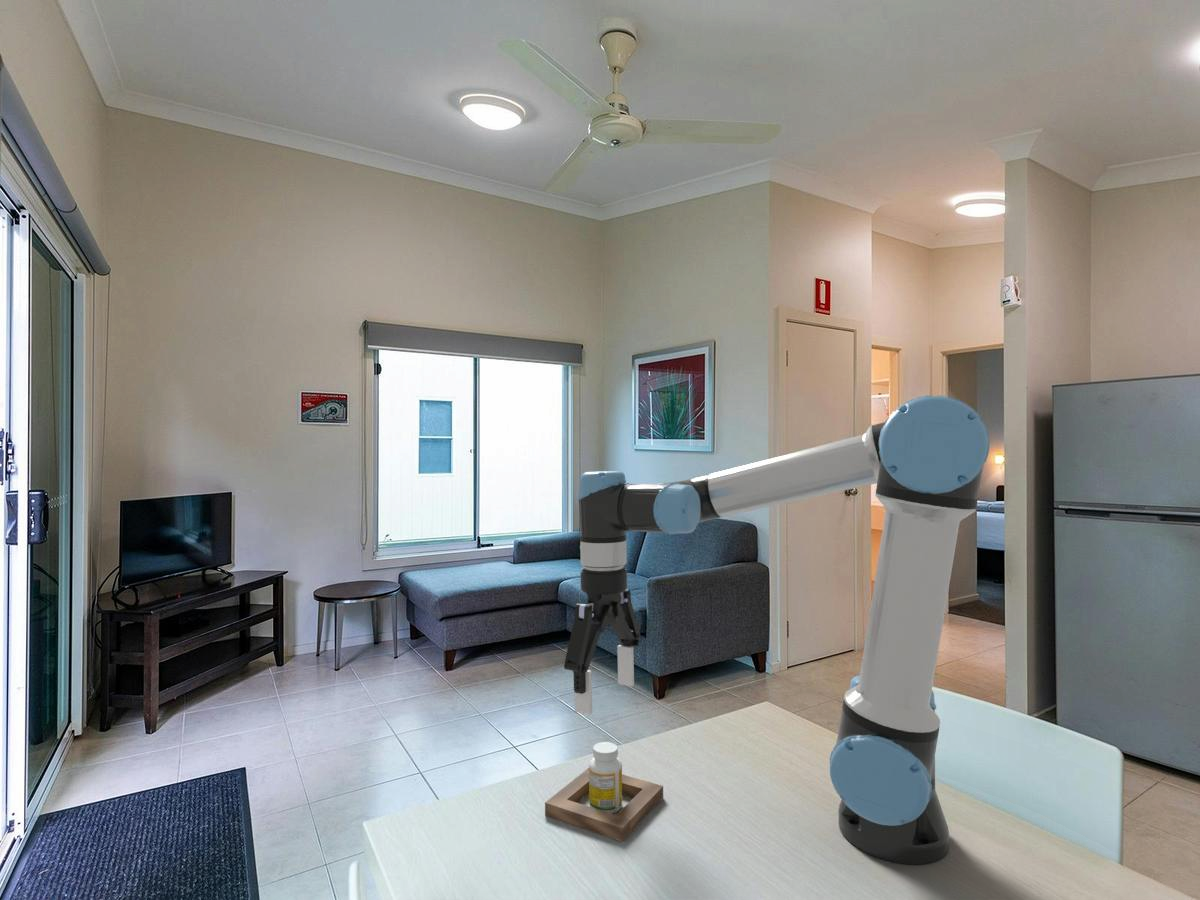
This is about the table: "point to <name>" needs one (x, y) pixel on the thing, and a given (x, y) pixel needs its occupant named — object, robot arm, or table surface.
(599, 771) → the supplement bottle
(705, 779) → the table surface
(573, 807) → the holder frame
